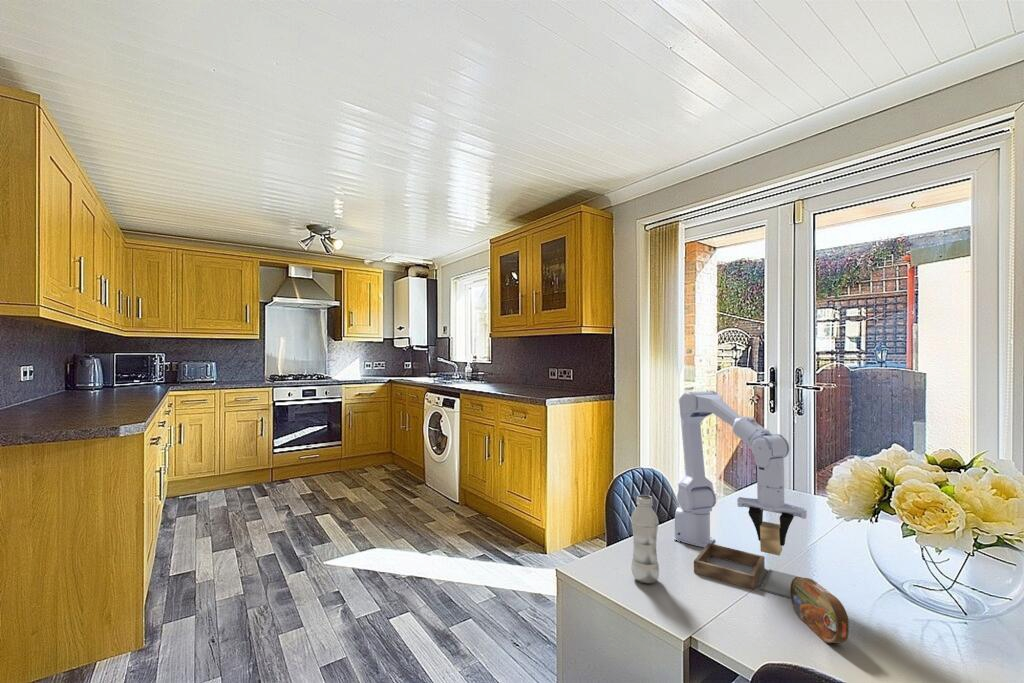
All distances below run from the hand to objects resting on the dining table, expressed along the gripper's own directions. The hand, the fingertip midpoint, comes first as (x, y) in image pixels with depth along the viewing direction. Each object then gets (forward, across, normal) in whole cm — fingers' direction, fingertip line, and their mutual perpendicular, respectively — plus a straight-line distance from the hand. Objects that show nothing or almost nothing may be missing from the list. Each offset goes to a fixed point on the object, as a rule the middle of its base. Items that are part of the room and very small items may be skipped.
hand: (771, 541), depth 112 cm
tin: (+10, +10, -16) cm, 21 cm away
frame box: (+10, -10, 0) cm, 14 cm away
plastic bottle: (+10, -24, -18) cm, 32 cm away
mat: (+10, +2, 0) cm, 10 cm away
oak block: (+2, 0, 0) cm, 2 cm away
